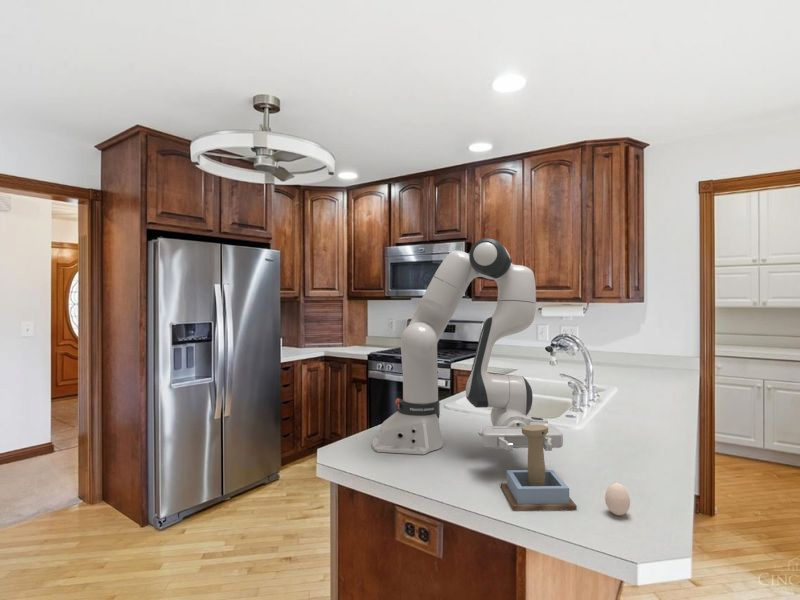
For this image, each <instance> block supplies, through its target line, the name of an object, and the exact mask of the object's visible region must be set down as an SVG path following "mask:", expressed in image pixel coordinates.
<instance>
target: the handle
mask: <svg viewBox="0 0 800 600" xmlns="http://www.w3.org/2000/svg"><path fill="white" fill-rule="evenodd" d="M547 433H548V427H547V426H544V425H528V426H524V427H522V434H524V435H525V436H527V437H528V448H527V470H528V479H529V484H530V485H531V486H544V485H545V470H546V464H545V461H546V460H545V453H544V451H545V450H544V448H543V437H544V436H545V435H546V434H547Z"/></svg>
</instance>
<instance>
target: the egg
mask: <svg viewBox="0 0 800 600" xmlns="http://www.w3.org/2000/svg"><path fill="white" fill-rule="evenodd" d="M604 500H605V504H606V507H607V509H608V510H609V511H610V512H611V513H612V514H613V515H615V516H623V515H625V514H626V513H627V512H628V511H629V509H630V506H631V499H630V494H629V492H628V491H627V489H626V487H625V486H624V485H622V484H621V483H619V482H614V483H612V484H610V485H609V486H608V488H607V489H606V491H605V496H604Z"/></svg>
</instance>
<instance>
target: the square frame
mask: <svg viewBox="0 0 800 600" xmlns="http://www.w3.org/2000/svg"><path fill="white" fill-rule="evenodd" d="M506 483H507V486H508V488H509V490H510V491H511V493H512V495H513V497H514V498H515V500H516V502H517V504H569V497H570V487H569V486H568V485H567V484H566V483H565V481H564V480H563V479H562V478H561V477H560V476H559V475H558V473H556V471H555V470H554V469H545V485H544V486H531V485H530V484H529V479H528V469H523V470H522V469H513V470H512V469H509V470H506Z"/></svg>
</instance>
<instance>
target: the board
mask: <svg viewBox="0 0 800 600" xmlns="http://www.w3.org/2000/svg"><path fill="white" fill-rule="evenodd" d="M500 489H501V491H502V493H503V495H504V497H505V496H506V497H505V498H506V500H507V503H508V504H509V506H510V508H511V510H512V511H514V512H516V511H517V512H520V511H522V512H524V511H525V512H526V511H528V510H529V511H530V512H531V511H534V510H537V511H539V510H542V511H577V509H578V506H577V504H576V503H575V502H574V501H573V499H572V498H571V497H570V496H569V504H517V502H516V500H515V498H514V497H513V495H512V493H511V491H510V490H509V488H508V486H507V482H500ZM529 511H528V512H529Z"/></svg>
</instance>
